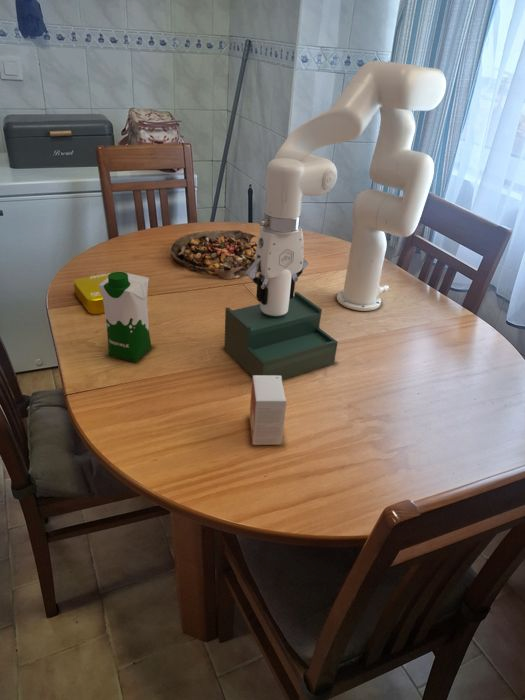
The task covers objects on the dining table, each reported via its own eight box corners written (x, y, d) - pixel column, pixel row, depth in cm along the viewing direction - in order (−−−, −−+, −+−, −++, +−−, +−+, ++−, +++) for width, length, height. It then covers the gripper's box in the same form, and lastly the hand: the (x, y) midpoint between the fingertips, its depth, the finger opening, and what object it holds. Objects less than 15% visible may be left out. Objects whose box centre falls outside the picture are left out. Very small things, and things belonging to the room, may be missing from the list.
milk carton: (103, 356, 116) (92, 275, 105) (124, 338, 123) (117, 260, 112) (137, 365, 113) (130, 284, 103) (157, 346, 121) (152, 267, 110)
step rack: (334, 363, 119) (341, 322, 113) (261, 386, 110) (265, 343, 104) (293, 330, 131) (297, 291, 125) (224, 348, 122) (225, 307, 116)
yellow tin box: (126, 282, 149) (124, 267, 146) (146, 304, 138) (145, 288, 136) (73, 293, 141) (71, 277, 139) (90, 316, 131) (88, 299, 128)
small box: (249, 417, 101) (251, 374, 95) (277, 417, 101) (281, 374, 96) (251, 445, 94) (255, 400, 88) (281, 445, 95) (286, 400, 89)
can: (285, 319, 114) (290, 269, 108) (257, 314, 115) (260, 265, 109) (290, 306, 120) (295, 258, 113) (263, 302, 120) (266, 254, 114)
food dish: (271, 285, 156) (272, 261, 151) (162, 280, 155) (160, 256, 151) (271, 241, 184) (272, 220, 180) (179, 236, 184) (178, 215, 180)
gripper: (255, 233, 100) (250, 314, 109) (325, 222, 108) (315, 298, 117) (236, 221, 105) (233, 299, 114) (304, 212, 113) (296, 285, 123)
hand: (275, 298), depth 116 cm, fingers closed on can, 6 cm apart
